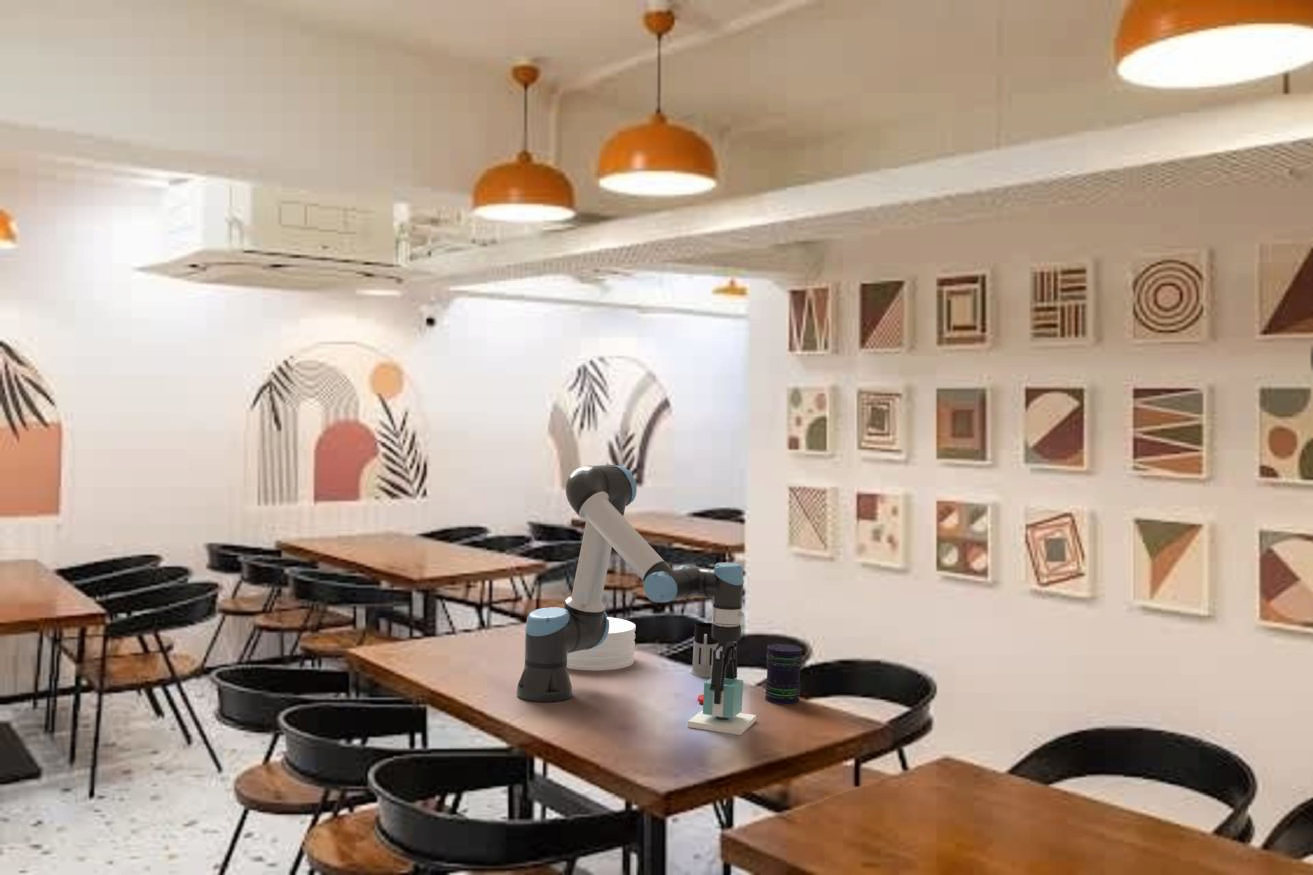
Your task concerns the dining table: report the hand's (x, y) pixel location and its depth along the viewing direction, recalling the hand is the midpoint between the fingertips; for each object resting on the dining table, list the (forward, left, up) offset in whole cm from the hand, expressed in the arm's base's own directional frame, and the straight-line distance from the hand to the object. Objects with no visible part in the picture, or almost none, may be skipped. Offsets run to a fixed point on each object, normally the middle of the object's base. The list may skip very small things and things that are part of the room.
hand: (722, 711), depth 278 cm
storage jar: (+8, +31, -3) cm, 32 cm away
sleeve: (0, 0, 0) cm, 0 cm away
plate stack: (-59, +47, -4) cm, 75 cm away
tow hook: (-9, +20, -4) cm, 22 cm away
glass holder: (-20, +46, -3) cm, 50 cm away
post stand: (0, 0, -3) cm, 3 cm away
